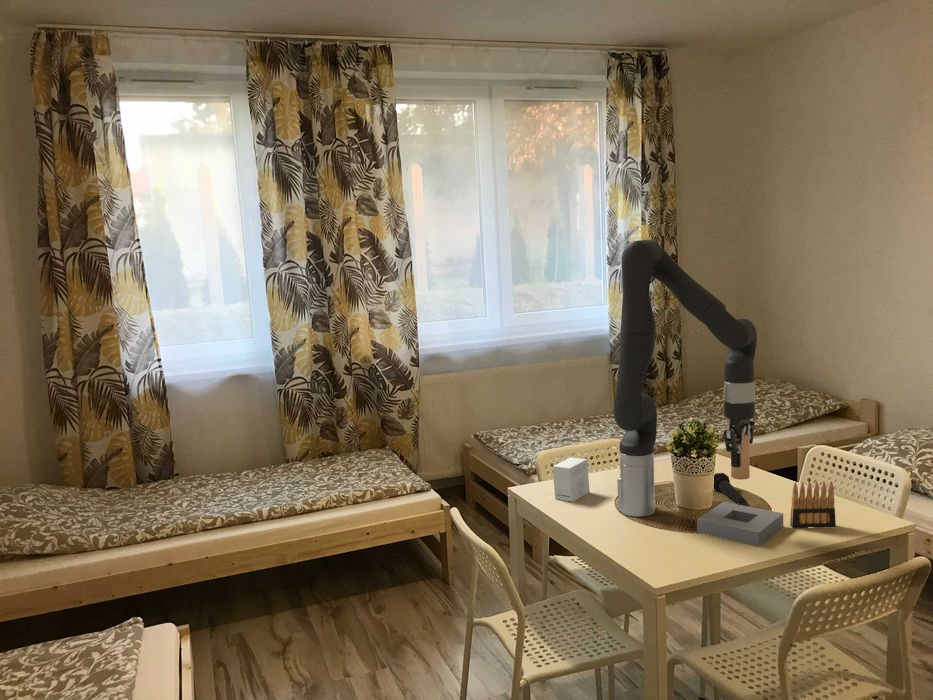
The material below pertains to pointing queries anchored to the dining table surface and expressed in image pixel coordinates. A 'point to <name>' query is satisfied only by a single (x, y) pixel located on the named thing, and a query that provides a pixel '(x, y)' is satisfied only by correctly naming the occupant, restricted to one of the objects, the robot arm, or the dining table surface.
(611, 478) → the dining table surface
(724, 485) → the microphone
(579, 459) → the skincare box
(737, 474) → the peg
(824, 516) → the ammunition clip
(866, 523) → the dining table surface
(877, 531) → the dining table surface
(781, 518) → the socket block
